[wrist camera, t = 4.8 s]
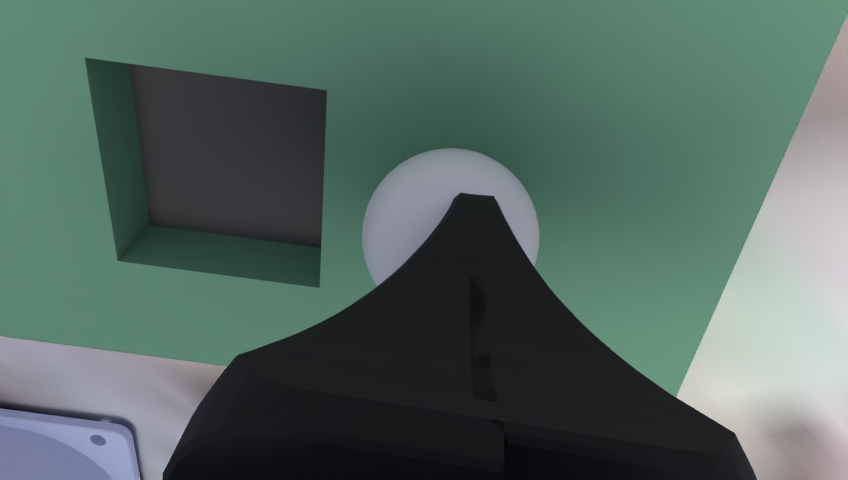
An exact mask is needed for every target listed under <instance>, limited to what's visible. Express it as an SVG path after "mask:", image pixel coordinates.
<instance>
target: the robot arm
mask: <svg viewBox="0 0 848 480" xmlns="http://www.w3.org/2000/svg"><path fill="white" fill-rule="evenodd" d="M0 480H140V475H139V469H138V464H137V458H136V452H135V447H134V441H133V436H132V434H131V432H130V430H129V429H128V428H126V427H125V426H123V425H120V424H115V423H107V422H100V421H92V420H85V419H77V418H70V417H62V416H54V415H47V414H39V413H32V412H24V411H16V410H9V409H1V408H0ZM163 480H757V478H756V476H755V474H754V471H753V469H752V467H751V465H750V463H749V461H748V459H747V457H746V455H745V453H744V451H743V449H742V447H741V445H740V443H739V441H738V439H737V437H736V435H735V433H734V432H732V431H730V430H729V429H727V428H725V427H724V426H722V425H720V424H719V423H717V422H715V421H714V420H712V419H710V418H709V417H707V416H705V415H704V414H702V413H700V412H699V411H697V410H696V409H694V408H692V407H691V406H689V405H687V404H686V403H684V402H682V401H681V400H679V399H677V398H676V397H674V396H673V395H671V394H670V393H668V392H667V391H665V390H664V389H663V388H661V387H660V386H658V385H657V384H656V383H654V382H653V381H651V380H650V379H649V378H647V377H646V376H644V375H643V374H642V373H640V372H639V371H637V370H636V369H635V368H633V367H632V366H631V365H630V364H628V363H627V362H626V361H625V360H623V359H622V358H621V357H619V356H618V355H617V354H616V353H615V352H613V351H612V350H611V349H610V348H609V347H608V346H607V345H605V344H604V343H603V342H602V341H601V340H600V339H599V338H597V337H596V336H595V335H594V334H593V333H592V332H591V331H590V330H589V329H588V328H587V327H585V326H584V325H583V324H582V323H581V322H580V321H579V320H578V319H577V318H576V317H575V315H574V314H573V313H572V312H571V311H570V310H569V309H568V308H567V307H566V306H565V305H564V304H563V303H562V302H561V300H560V299H559V298H558V297H557V296H556V295H555V294H554V292H553V291H552V290H551V289H550V288H549V286H548V285H547V284H546V282H545V281H544V280H543V278H542V277H541V276H540V274H539V273H538V272H537V270H536V269H535V267H534V266H533V264H532V263H531V261H530V260H529V258H528V257H527V255H526V253H525V252H524V250H523V249H522V247H521V245H520V244H519V242H518V240H517V239H516V237H515V235H514V234H513V232H512V230H511V228H510V226H509V224H508V222H507V221H506V219H505V217H504V215H503V213H502V210H501V208H500V206H499V204H498V202H497V201H496V199H495V197H494V196H488V195H476V194H467V193H460V194H458V195H457V196H456V197H455V198H453V201H452V203H451V205H450V207H449V209H448V211H447V212H446V214H445V215H444V217H443V218H442V220H441V221H440V223H439V224H438V225H437V227H436V228H435V229H434V230H433V232H432V233H431V234H430V236H429V237H428V238H427V239H426V241H425V242H424V243H423V244H422V245H421V246H420V247H419V248H418V249H417V250H416V251H415V252H414V253H413V254H412V255H411V257H410V258H409V259H408V260H407V261H406V262H405V263H404V264H403V265H402V266H401V267H399V268H398V269H397V270H396V271H395V272H394V273H393V274H392V275H390V276H389V277H388V278H387V279H386V280H384V281H383V282H382V283H381V284H379V285H378V286H377V287H376V288H374V289H373V290H372V291H370V292H369V293H367V294H366V295H364V296H363V297H362V298H360V299H359V300H357V301H356V302H354V303H353V304H352V305H350V306H348V307H347V308H345V309H344V310H342V311H340V312H339V313H337V314H335V315H333V316H331V317H329V318H328V319H326V320H324V321H322V322H320V323H318V324H316V325H314V326H312V327H310V328H308V329H305V330H303V331H301V332H299V333H296V334H294V335H292V336H289V337H286V338H284V339H281V340H278V341H276V342H273V343H270V344H268V345H265V346H262V347H259V348H257V349H254V350H251V351H248V352H245V353H242V354H239V355H237V356H236V357H235V358H234V359H233V360H232V362H231V363H230V364H229V365H228V366H227V368H226V369H225V370H224V372H223V373H222V374H221V376H220V377H219V378H218V379H217V381H216V382H215V383H214V385H213V386H212V388H211V389H210V391H209V392H208V393H207V395H206V396H205V397H204V399H203V400H202V401H201V403H200V404H199V406H198V408H197V409H196V411H195V412H194V414H193V416H192V417H191V419H190V421H189V423H188V425H187V427H186V429H185V431H184V433H183V435H182V437H181V439H180V441H179V443H178V445H177V447H176V449H175V451H174V453H173V455H172V457H171V459H170V461H169V463H168V464H167V466H166V468H165V470H164V472H163Z"/></svg>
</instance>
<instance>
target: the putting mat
mask: <svg viewBox="0 0 848 480" xmlns="http://www.w3.org/2000/svg"><path fill="white" fill-rule="evenodd" d="M847 14H848V0H0V336H4V337H11V338H19V339H27V340H34V341H42V342H49V343H57V344H64V345H72V346H79V347H87V348H95V349H102V350H110V351H117V352H125V353H132V354H140V355H147V356H155V357H163V358H170V359H178V360H185V361H193V362H200V363H208V364H215V365H223V366H228V365H229V364H230V363H231V362H232V360H233V359H234V358H235V357H236V356H237V355H239V354H242V353H245V352H248V351H251V350H254V349H257V348H259V347H262V346H265V345H268V344H270V343H273V342H276V341H278V340H281V339H284V338H286V337H289V336H292V335H294V334H296V333H299V332H301V331H303V330H305V329H308V328H310V327H312V326H314V325H316V324H318V323H320V322H322V321H324V320H326V319H328V318H329V317H331V316H333V315H335V314H337V313H339V312H340V311H342V310H344V309H345V308H347V307H348V306H350V305H352V304H353V303H354V302H356V301H357V300H359V299H360V298H362V297H363V296H364V295H366V294H367V293H369V292H370V291H372V290H373V289H374V288H376V287H377V285H376V284H375V282H374V280H373V279H372V276H371V274H370V272H369V270H368V267H367V264H366V261H365V258H364V252H363V246H362V229H363V221H364V216H365V212H366V209H367V206H368V204H369V201H370V199H371V197H372V195H373V193H374V191H375V190H376V188H377V187H378V186H379V184H380V183H381V181H382V180H383V179H384V178H385V177H386V176H387V175H388V174H389V173H390V172H391V171H392V170H393V169H394V168H396V167H397V166H398V165H399V164H401V163H403V162H404V161H406V160H407V159H409V158H411V157H414V156H416V155H418V154H421V153H424V152H427V151H430V150H436V149H443V148H458V149H466V150H471V151H475V152H478V153H481V154H483V155H486V156H488V157H490V158H492V159H494V160H495V161H497V162H499V163H500V164H502V165H503V166H505V167H506V168H507V169H509V170H510V171H511V172H512V173H513V174H514V175H515V176H516V177H517V178H518V180H519V181H520V182H521V184H522V185H523V186H524V188H525V189H526V191H527V193H528V194H529V196H530V198H531V200H532V203H533V205H534V208H535V211H536V215H537V219H538V224H539V249H538V255H537V259H536V263H535V266H534V267H535V269H536V270H537V272H538V273H539V274H540V276H541V277H542V278H543V280H544V281H545V282H546V284H547V285H548V286H549V288H550V289H551V290H552V291H553V292H554V294H555V295H556V296H557V297H558V298H559V299H560V300H561V302H562V303H563V304H564V305H565V306H566V307H567V308H568V309H569V310H570V311H571V312H572V313H573V314H574V315H575V317H576V318H577V319H578V320H579V321H580V322H581V323H582V324H583V325H584V326H585V327H587V328H588V329H589V330H590V331H591V332H592V333H593V334H594V335H595V336H596V337H597V338H599V339H600V340H601V341H602V342H603V343H604V344H605V345H607V346H608V347H609V348H610V349H611V350H612V351H613V352H615V353H616V354H617V355H618V356H619V357H621V358H622V359H623V360H625V361H626V362H627V363H628V364H630V365H631V366H632V367H633V368H635V369H636V370H637V371H639V372H640V373H642V374H643V375H644V376H646V377H647V378H649V379H650V380H651V381H653V382H654V383H656V384H657V385H658V386H660V387H661V388H663V389H664V390H665V391H667V392H668V393H670V394H671V395H673V396H674V397H676V396H677V393H678V391H679V389H680V387H681V384H682V382H683V380H684V378H685V375H686V373H687V371H688V369H689V367H690V364H691V362H692V360H693V358H694V355H695V353H696V351H697V349H698V346H699V344H700V342H701V340H702V337H703V335H704V333H705V331H706V329H707V326H708V324H709V322H710V320H711V317H712V315H713V313H714V311H715V308H716V306H717V304H718V302H719V300H720V297H721V295H722V293H723V291H724V288H725V286H726V284H727V282H728V279H729V277H730V275H731V273H732V270H733V268H734V266H735V264H736V262H737V259H738V257H739V255H740V253H741V250H742V248H743V246H744V244H745V241H746V239H747V237H748V235H749V232H750V230H751V228H752V226H753V224H754V221H755V219H756V217H757V215H758V212H759V210H760V208H761V206H762V203H763V201H764V199H765V197H766V194H767V192H768V190H769V188H770V186H771V183H772V181H773V179H774V177H775V174H776V172H777V170H778V168H779V165H780V163H781V161H782V159H783V157H784V154H785V152H786V150H787V148H788V145H789V143H790V141H791V139H792V136H793V134H794V132H795V130H796V127H797V125H798V123H799V121H800V119H801V116H802V114H803V112H804V110H805V107H806V105H807V103H808V101H809V98H810V96H811V94H812V92H813V89H814V87H815V85H816V83H817V81H818V78H819V76H820V74H821V72H822V69H823V67H824V65H825V63H826V60H827V58H828V56H829V54H830V51H831V49H832V47H833V45H834V43H835V40H836V38H837V36H838V34H839V31H840V29H841V27H842V25H843V22H844V20H845V18H846V16H847Z"/></svg>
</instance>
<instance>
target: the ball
mask: <svg viewBox="0 0 848 480" xmlns="http://www.w3.org/2000/svg"><path fill="white" fill-rule="evenodd" d="M460 193H467V194H476V195H488V196H494V197H495V199H496V201H497V202H498V204H499V206H500V208H501V210H502V213H503V215H504V217H505V219H506V221H507V222H508V224H509V226H510V228H511V230H512V232H513V234H514V235H515V237H516V239H517V240H518V242H519V244H520V245H521V247H522V249H523V250H524V252H525V253H526V255H527V257H528V258H529V260H530V261H531V263H532V264H533V266H535V263H536V259H537V255H538V249H539V224H538V219H537V215H536V211H535V208H534V205H533V203H532V200H531V198H530V196H529V194H528V193H527V191H526V189H525V188H524V186H523V185H522V184H521V182H520V181H519V180H518V178H517V177H516V176H515V175H514V174H513V173H512V172H511V171H510V170H509V169H507V168H506V167H505V166H503V165H502V164H500V163H499V162H497V161H495V160H494V159H492V158H490V157H488V156H486V155H483V154H481V153H478V152H475V151H471V150H466V149H458V148H443V149H436V150H430V151H427V152H424V153H421V154H418V155H416V156H414V157H411V158H409V159H407V160H406V161H404V162H403V163H401V164H399V165H398V166H397V167H396V168H394V169H393V170H392V171H391V172H390V173H389V174H388V175H387V176H386V177H385V178H384V179H383V180H382V181H381V183H380V184H379V186H378V187H377V188H376V190H375V191H374V193H373V195H372V197H371V199H370V201H369V204H368V206H367V209H366V212H365V216H364V221H363V229H362V246H363V252H364V258H365V261H366V264H367V267H368V270H369V272H370V274H371V276H372V279H373V280H374V282H375V284H376V285H377V286H378V285H379V284H381V283H382V282H383V281H384V280H386V279H387V278H388V277H389V276H390V275H392V274H393V273H394V272H395V271H396V270H397V269H398V268H399V267H401V266H402V265H403V264H404V263H405V262H406V261H407V260H408V259H409V258H410V257H411V255H412V254H413V253H414V252H415V251H416V250H417V249H418V248H419V247H420V246H421V245H422V244H423V243H424V242H425V241H426V239H427V238H428V237H429V236H430V234H431V233H432V232H433V230H434V229H435V228H436V227H437V225H438V224H439V223H440V221H441V220H442V218H443V217H444V215H445V214H446V212H447V211H448V209H449V207H450V205H451V203H452V201H453V198H455V197H456V196H457V195H458V194H460Z"/></svg>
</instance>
